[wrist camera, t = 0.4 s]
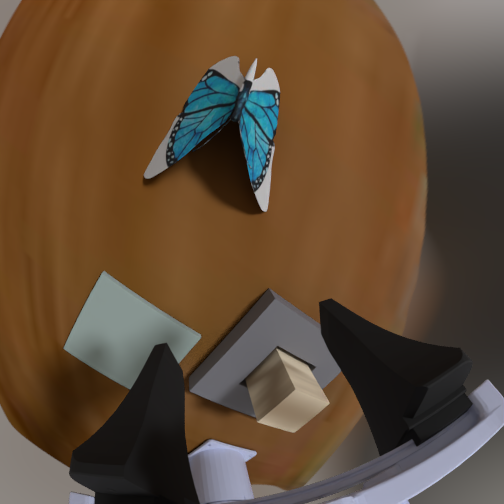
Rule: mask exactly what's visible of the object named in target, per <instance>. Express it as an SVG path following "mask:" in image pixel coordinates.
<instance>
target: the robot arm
mask: <svg viewBox="0 0 504 504" xmlns="http://www.w3.org/2000/svg"><path fill="white" fill-rule="evenodd" d="M319 308H320V324H321V335H322V337H323V339H324V342H325V344H326V346H327V348H328V350H329V352H330V354H331V355H332V357H333V358H334V360H335V362H336V363H337V365H338V366H339V368H340V369H341V371H342V373H343V374H344V376H345V377H346V379H347V380H348V382H349V384H350V385H351V387H352V389H353V391H354V393H355V395H356V397H357V399H358V401H359V403H360V406H361V408H362V410H363V412H364V415H365V417H366V419H367V422H368V424H369V427H370V429H371V432H372V434H373V437H374V440H375V443H376V445H377V448H378V451H379V454H380V457H378V458H376V459H374V460H372V461H370V462H368V463H365V464H363V465H361V466H359V467H356V468H354V469H352V470H349V471H347V472H344V473H342V474H339V475H336V476H334V477H331V478H328V479H326V480H322V481H320V482H317V483H313V484H310V485H307V486H304V487H300V488H297V489H293V490H289V491H286V492H282V493H278V494H273V495H269V496H264V497H259V498H254V496H253V492H252V488H251V484H250V480H249V476H248V472H247V468H246V464H245V462H246V461H248V460H249V459H251V458H252V457H254V456H255V455H256V454H257V453H256V451H252V450H248V449H244V448H240V447H236V446H232V445H229V444H225V443H222V442H219V441H215V440H208V441H206V442H205V443H204V444H202V445H201V446H200V447H198V448H197V449H195V450H194V451H193V452H191V453H190V454H188V453H187V446H186V439H185V388H184V379H183V371H182V369H181V367H180V366H179V364H178V362H177V360H176V358H175V357H174V355H173V353H172V351H171V349H170V348H169V346H168V344H167V343H162V344H157V345H155V346H154V348H153V349H152V351H151V353H150V355H149V357H148V359H147V361H146V363H145V365H144V366H143V368H142V370H141V372H140V374H139V376H138V378H137V379H136V381H135V383H134V384H133V386H132V388H131V389H130V391H129V393H128V394H127V396H126V397H125V399H124V400H123V402H122V403H121V404H120V406H119V407H118V408H117V410H116V411H115V412H114V413H113V415H112V416H111V417H110V418H109V419H108V420H107V421H106V423H105V424H104V425H103V426H102V427H101V428H100V429H99V430H98V431H97V432H96V433H95V434H94V435H92V436H91V437H90V438H89V439H88V440H87V441H85V442H84V443H83V444H82V445H80V446H79V447H78V448H76V449H75V450H73V453H72V458H71V464H70V471H69V474H70V476H71V478H72V479H74V480H75V481H76V482H78V483H80V484H81V485H83V486H85V487H87V488H89V489H91V490H92V491H94V492H95V497H93V496H90V495H86V494H81V493H76V492H70V497H69V504H305V503H308V502H311V501H315V500H317V499H321V498H324V497H327V496H329V495H332V494H335V493H338V492H340V491H343V490H346V489H348V488H351V487H353V486H356V485H358V484H360V483H362V482H364V484H363V486H364V487H363V488H362V489H361V490H358V491H356V492H353V493H350V494H347V495H345V496H341V497H338V498H335V499H332V500H329V501H326V502H322V503H320V504H409V502H408V499H410V498H412V497H413V496H415V495H417V494H418V493H420V492H421V491H423V490H425V489H426V488H428V487H429V486H431V485H433V484H434V483H436V482H437V481H438V480H440V479H441V478H443V477H444V476H445V475H447V474H448V473H450V472H451V471H452V470H454V469H455V468H456V467H458V466H459V465H460V464H461V463H463V462H464V461H465V460H466V459H468V458H469V457H470V456H471V455H472V454H474V453H475V452H476V451H477V450H478V449H479V448H480V447H481V446H482V445H484V444H485V443H486V442H487V441H488V440H489V439H490V438H491V437H492V436H493V435H494V434H495V433H496V432H497V431H498V430H499V429H500V428H501V427H502V426H503V425H504V398H503V396H502V395H501V394H500V393H499V392H498V391H497V389H496V388H495V387H494V386H493V385H492V384H491V382H490V381H489V380H486V381H485V382H483V383H482V384H481V385H480V386H479V387H478V388H476V389H475V390H474V391H473V392H472V393H471V394H470V395H469V396H468V397H467V396H466V394H465V392H466V388H465V387H464V386H463V383H464V381H465V380H466V378H467V376H468V374H469V372H470V370H471V368H472V360H471V359H470V358H469V357H468V356H467V355H466V354H465V353H464V352H463V351H462V350H461V349H460V348H453V347H444V346H437V345H432V344H427V343H422V342H418V341H415V340H411V339H408V338H405V337H402V336H399V335H397V334H394V333H392V332H389V331H387V330H385V329H383V328H381V327H379V326H377V325H375V324H373V323H371V322H369V321H367V320H365V319H364V318H362V317H360V316H358V315H357V314H355V313H353V312H352V311H350V310H349V309H347V308H345V307H344V306H342V305H341V304H339V303H338V302H336V301H335V300H333V299H328V300H325V301H321V302H319ZM369 479H370V480H369ZM367 480H368V481H367ZM365 481H366V482H365Z"/></svg>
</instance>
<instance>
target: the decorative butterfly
mask: <svg viewBox="0 0 504 504" xmlns="http://www.w3.org/2000/svg"><path fill="white" fill-rule="evenodd" d="M256 65H257V58H256V59H255V61H254V62H253V64H252V65H251V67H250V69H249V71H248V73H247V75H246V76H245V78H244V77H243V75H242V74H241V73H240V70H239V58H238V57H236V56H232V57H229V58H226V59H224V60H222V61H220V62H218V63H216V64H215V65H214V66H212V67H211V68H210V69H208V71H207V72H206V73H205V75H204V76H203V78H202V79H201V80H200V82H199V83H198V85H197V86H196V88H195V89H194V91H193V92H192V93H191V95H190V97H189V98H188V100H187V101H186V103H185V105H184V111H183V112H182V113H180V114H179V115H178V116H177V117H176V118H175V120H174V122H173V124H172V126H171V128H170V130H169V132H168V134H167V135H166V137H165V139H164V140H163V141H162V143H161V144H160V146H159V148H158V150H157V151H156V153H155V155H154V157H153V158H152V160H151V162H150V164H149V166H148V168H147V170H146V172H145V174H144V177H145V178H147V179H149V178H152V177H154V176H156V175H157V174H159V173H160V172H162V171H164V170H165V169H167V168H168V167H170V166H171V165H173V164H175V163H176V162H177V161H179V160H180V159H181V158H182V157H184V156H185V155H186V154H187V153H188V152H189V151H191V150H192V149H193V148H194V147H195V146H196V145H197V144H198V143H199V142H200V141H202V140H203V139H204V138H205V137H206V136H208V135H209V134H210V133H211V132H213V131H214V130H216V129H217V128H218V127H220V126H221V125H222V124H224V123H225V122H226V121H227V119H228V118H229V117H230V115H231V114H232V113H233V114H232V115H231V119H230V120H232V121H233V122H239V120H240V125H239V129H240V136H242V139H241V141H242V140H243V143H242V146H243V144H244V148H245V152H244V154H246V156H245V158H246V161H247V166H248V172H249V176H250V181H251V184H252V187H253V190H254V193H255V196H256V198H257V201H258V203H259V206H260V208H261V209H262V211H264V212H266V211H267V209H268V201H269V191H270V181H271V166H272V159H273V154H274V142H273V138H274V136H275V135H276V128H277V120H278V110H279V101H280V89H279V84H278V81H277V78H276V75H275V73H274V71H273V70H272V69H271V68H268V69H266V71H265V72H264V74H263V75H262V76H261V77H260V78H258V79H255V80H253V79H254V75H255V70H256ZM233 111H234V112H233ZM230 120H229V121H230ZM229 121H228V122H229ZM228 122H227V123H228ZM227 123H226V124H227ZM226 124H225V125H226ZM225 125H224V126H225ZM224 126H223V127H224ZM223 127H222V128H223ZM222 128H221V129H222ZM221 129H220V130H221ZM220 130H219V131H220ZM219 131H218V132H219ZM218 132H217V133H218ZM217 133H216V134H217ZM216 134H215V135H216ZM215 135H214V136H215ZM211 138H212V137H211ZM211 138H210V139H211ZM210 139H209V140H210ZM209 140H208V141H209ZM208 141H207V142H208ZM207 142H206V143H207ZM203 145H204V144H203ZM203 145H202V146H203ZM202 146H201V147H202ZM199 148H200V147H199ZM199 148H198V149H199ZM244 148H243V150H244ZM195 150H197V149H195ZM195 150H192V152H193V151H195Z"/></svg>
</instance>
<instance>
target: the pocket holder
mask: <svg viewBox="0 0 504 504" xmlns="http://www.w3.org/2000/svg"><path fill="white" fill-rule="evenodd" d="M277 346H279V347H281V348H283V349H285V350H286V351H288V352H290V353H292V354H293V355H295V356H297V357H299V358H301V359H303V360H304V361H305V362H306V363H307V365H308V367H309V368H310V370H311V372H312V374H313V375H314V377H315V379H316V380H317V382H318V384H319V386H320V387H321V389H323V388H324V387H325V386H326V385H327V384H329V383H330V382H331V381H332V380H333V379H334V378H335V377H336V376H337V375H338V374H339V373H340V372H341V369H340V368H339V366H338V365H337V363H336V362H335V360H334V358H333V357H332V355H331V354H330V352H329V350H328V348H327V346H326V344H325V342H324V339H323V337H322V335H321V325H320V324H319V323H317V322H316V321H315V320H313V319H312V318H310V317H309V316H307V315H306V314H305V313H303V312H302V311H300V310H299V309H297V308H296V307H295V306H293V305H292V304H290V303H289V302H288V301H286V300H285V299H283V298H282V297H281V296H279V295H278V294H276V293H275V292H274V291H272V290H271V289H268V290H267V291H266V292H265V293H264V294H263V296H262V297H261V298H260V299H259V300H258V301H257V303H256V304H255V305H254V306H253V307H252V308H251V309H250V311H249V312H248V313H247V314H246V315H245V316H244V317H243V318H242V320H241V321H240V322H239V323H238V324H237V325H236V326H235V327H234V329H233V330H232V331H231V332H230V333H229V334H228V335H227V336H226V337H225V339H224V340H223V341H222V342H221V343H220V344H219V345H218V346H217V347H216V348H215V350H214V351H213V352H212V353H211V354H210V355H209V356H208V357H207V358H206V359H205V360H204V362H203V363H202V364H201V365H200V366H199V367H198V368H197V369H196V370H195V371H194V372H193V373H192V374H191V375H190V377H189V391H190V392H192V393H195V394H197V395H199V396H201V397H204V398H206V399H208V400H211V401H213V402H216V403H218V404H221V405H223V406H226V407H228V408H231V409H233V410H236V411H239V412H242V413H244V414H247V415H250V416H253V417H256V415H255V412H254V408H253V405H252V402H251V398H250V394H249V391H248V387H247V384H246V380H245V378H246V377H247V376H248V375H249V374H250V373H251V372H252V371H253V370H254V369H255V368H256V367H257V366H258V365H259V364H260V363H261V362H262V361H263V360H264V359H265V358H266V357H267V356H268V355H269V354H270V353H271V352H272V351H273V350H274V349H275V348H276V347H277Z"/></svg>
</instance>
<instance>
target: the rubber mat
mask: <svg viewBox="0 0 504 504" xmlns="http://www.w3.org/2000/svg"><path fill="white" fill-rule="evenodd" d="M200 338H201V334H199V333H197V332H195V331H194V330H192V329H190V328H189V327H187V326H185V325H184V324H182V323H180V322H179V321H177V320H176V319H174V318H172V317H171V316H169V315H168V314H166V313H164V312H163V311H161V310H160V309H158V308H157V307H155V306H154V305H152V304H151V303H149V302H148V301H146V300H144V299H143V298H142V297H140V296H139V295H137V294H136V293H134V292H133V291H131V290H130V289H128V288H127V287H126V286H124V285H123V284H121V283H120V282H118V281H117V280H116V279H114V278H113V277H112V276H110V275H109V274H107V273H106V272H105V271H103V273H102V274H101V276H100V278H99V279H98V281H97V283H96V285H95V287H94V288H93V290H92V292H91V294H90V296H89V298H88V299H87V301H86V303H85V305H84V307H83V309H82V311H81V313H80V315H79V317H78V319H77V321H76V323H75V325H74V327H73V329H72V331H71V333H70V335H69V337H68V340H67V342H66V344H65V346H64V349H65V350H66V351H68V352H69V353H70V354H72V355H73V356H75V357H76V358H78V359H79V360H81V361H82V362H84V363H85V364H87V365H89V366H90V367H92V368H93V369H95V370H97V371H98V372H100V373H102V374H103V375H105V376H107V377H108V378H110V379H112V380H114V381H115V382H117V383H119V384H121V385H123V386H125V387H126V388H128V389H131V388H132V386H133V384H134V383H135V381H136V379H137V378H138V376H139V374H140V372H141V370H142V368H143V366H144V365H145V363H146V361H147V359H148V357H149V355H150V353H151V351H152V349H153V348H154V346H155V345H157V344H162V343H167V344H168V346H169V348H170V349H171V351H172V353H173V355H174V357H175V358H176V360H177V362H178V364H179V362H180V361H181V360H182V359H183V358H184V357H185V356H186V354H187V353H188V352H189V351H190V350H191V349H192V348H193V346H194V345H195V344H196V343H197V342H198V341H199V339H200Z"/></svg>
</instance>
